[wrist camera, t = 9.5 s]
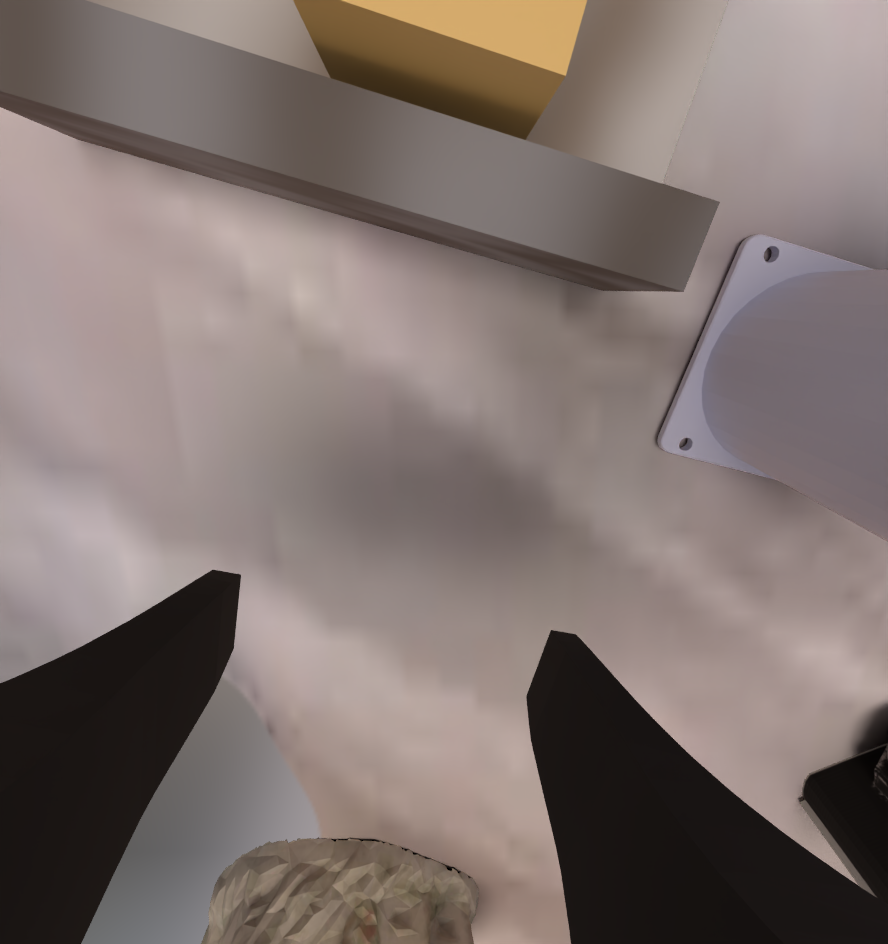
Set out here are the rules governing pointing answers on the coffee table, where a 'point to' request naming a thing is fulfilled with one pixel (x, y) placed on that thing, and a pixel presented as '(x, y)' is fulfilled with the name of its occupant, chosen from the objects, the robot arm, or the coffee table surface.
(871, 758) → the camera
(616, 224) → the board
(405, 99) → the cabinet block
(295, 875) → the rough stone chunk
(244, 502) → the coffee table surface
